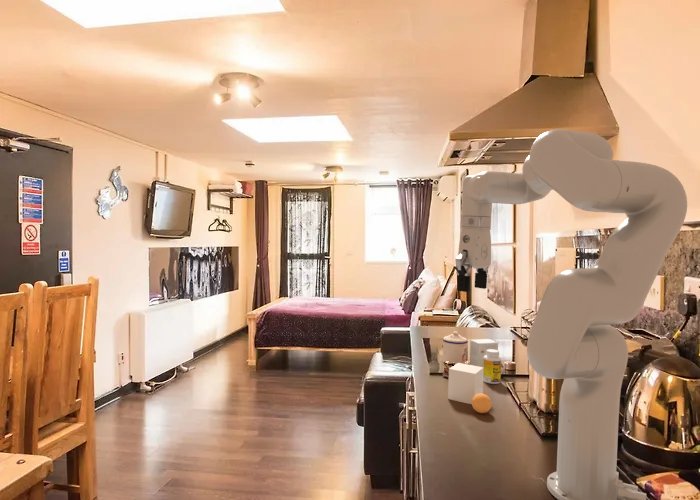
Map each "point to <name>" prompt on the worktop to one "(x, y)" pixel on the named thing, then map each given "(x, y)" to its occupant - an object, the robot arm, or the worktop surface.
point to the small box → (480, 350)
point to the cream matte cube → (465, 382)
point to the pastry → (446, 371)
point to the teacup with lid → (455, 348)
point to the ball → (481, 403)
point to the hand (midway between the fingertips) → (472, 289)
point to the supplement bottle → (492, 367)
